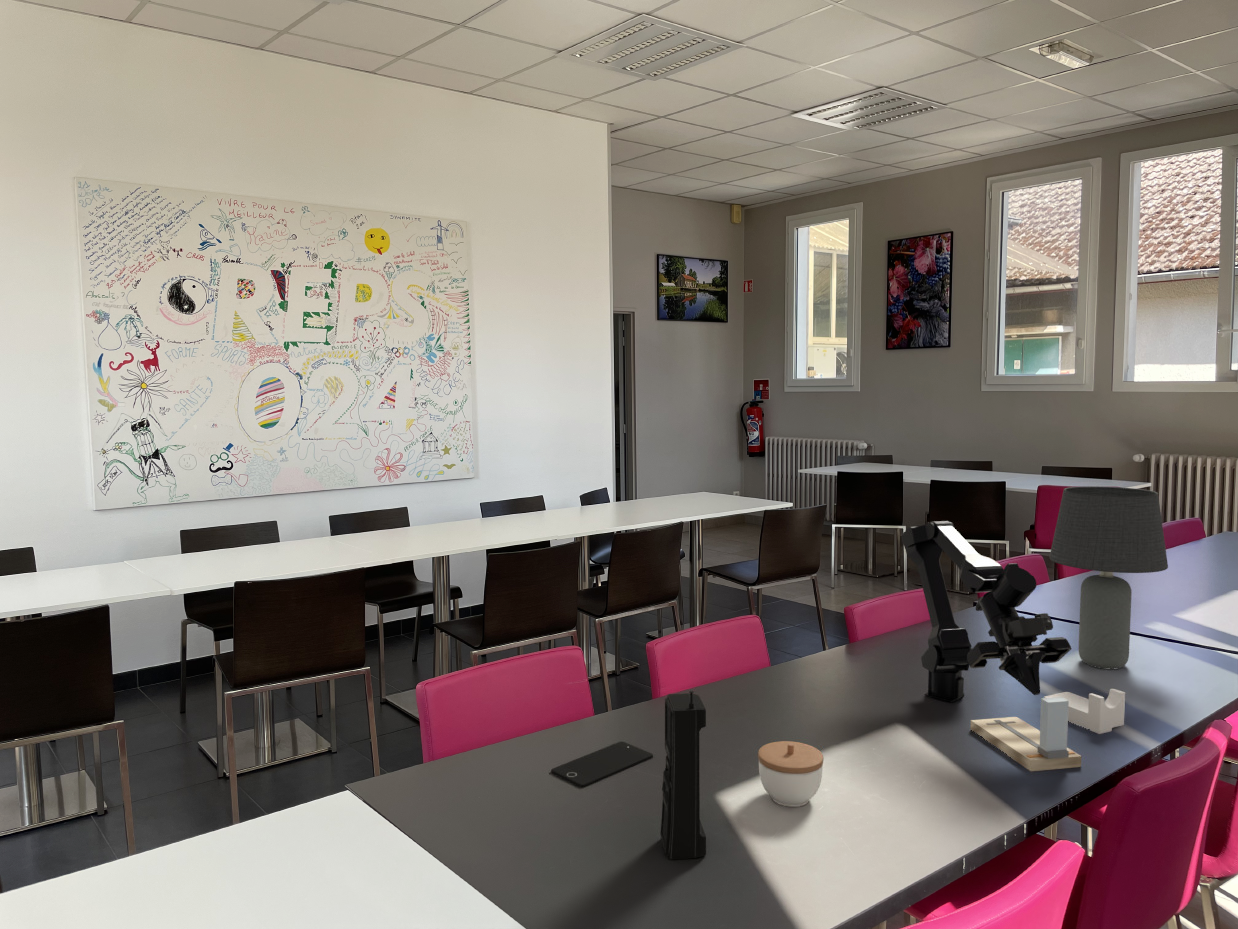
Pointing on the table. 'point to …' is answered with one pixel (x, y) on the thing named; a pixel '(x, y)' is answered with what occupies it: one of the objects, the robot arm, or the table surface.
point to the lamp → (1108, 561)
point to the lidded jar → (790, 772)
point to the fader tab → (1054, 728)
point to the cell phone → (601, 764)
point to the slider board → (1021, 743)
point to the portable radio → (682, 777)
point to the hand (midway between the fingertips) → (1037, 694)
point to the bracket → (1095, 710)
